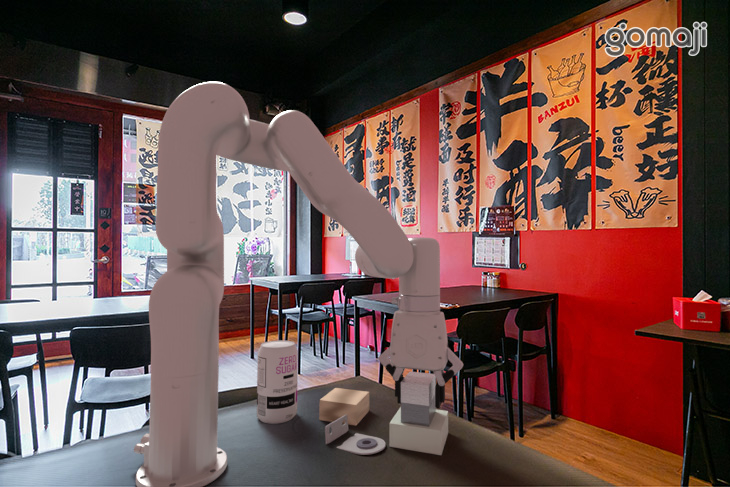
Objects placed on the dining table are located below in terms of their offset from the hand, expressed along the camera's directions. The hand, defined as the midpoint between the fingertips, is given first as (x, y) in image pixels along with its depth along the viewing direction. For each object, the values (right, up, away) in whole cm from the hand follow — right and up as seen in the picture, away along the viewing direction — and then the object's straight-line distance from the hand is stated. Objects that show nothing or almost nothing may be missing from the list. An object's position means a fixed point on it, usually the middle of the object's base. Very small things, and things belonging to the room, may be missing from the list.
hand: (419, 402), depth 70 cm
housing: (0, -3, 0) cm, 3 cm away
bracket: (-11, -7, -1) cm, 14 cm away
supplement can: (-28, -7, +10) cm, 31 cm away
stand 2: (0, -7, 0) cm, 7 cm away
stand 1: (-14, -7, +11) cm, 19 cm away
